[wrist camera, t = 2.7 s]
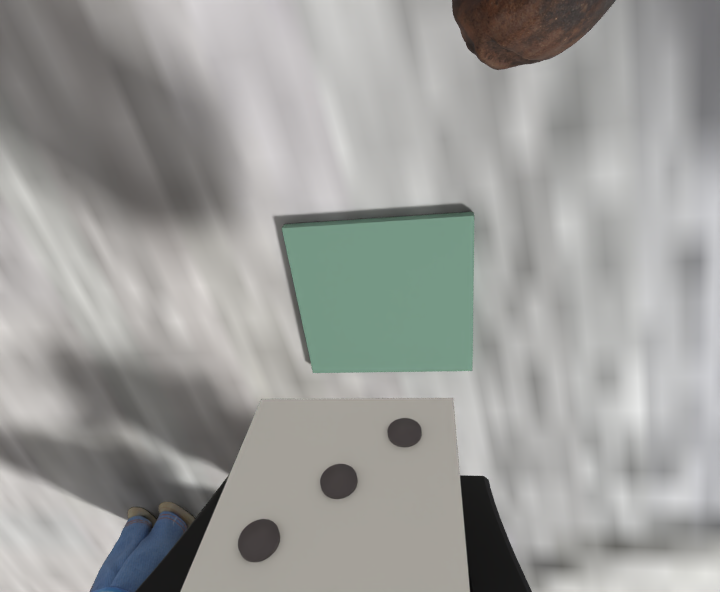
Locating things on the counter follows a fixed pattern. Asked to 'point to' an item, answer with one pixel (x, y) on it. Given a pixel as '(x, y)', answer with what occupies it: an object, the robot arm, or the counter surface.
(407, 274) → the felt mat
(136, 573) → the doll family
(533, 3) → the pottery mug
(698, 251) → the counter surface
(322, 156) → the counter surface
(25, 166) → the counter surface
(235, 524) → the die
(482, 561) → the robot arm
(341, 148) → the counter surface
